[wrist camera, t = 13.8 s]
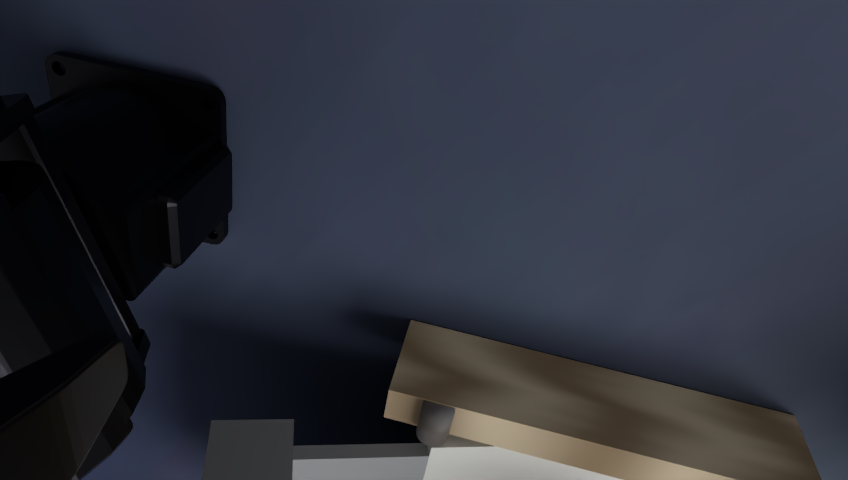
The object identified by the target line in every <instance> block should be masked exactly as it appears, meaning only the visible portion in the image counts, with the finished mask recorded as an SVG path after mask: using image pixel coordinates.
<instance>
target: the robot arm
mask: <svg viewBox="0 0 848 480" xmlns="http://www.w3.org/2000/svg"><path fill="white" fill-rule="evenodd" d="M59 62H60V63H61V64H62V65H63V66H64V68H65V71H64V70H63V69H62V68H61V67H60V64H59ZM45 66H46V72H47V77H48V83H49V88H50V93H51V99H52V100H50V101H48V102H46V103H44V104H42V105H40V106H38V107H36V108H34V106H33V104H32V102H31V100H30V98H29V96H28V94H27V93H22V94H13V95H5V96H1V95H0V480H81V479H82V478H84V477H85V476H86V475H87V474H88V473H90V472H91V471H92V470H93V469H94V468H96V467H97V466H98V465H99V464H101V463H102V462H103V461H104V460H105V459H107V458H108V457H109V456H110V455H111V454H112V453H113V452H114V451H115V450H116V449H117V448H118V446H119V445H120V444H121V443H122V442H123V441H124V440H125V439H126V437H127V436H128V435H129V433H130V432H131V430H132V428H133V423H132V421H131V420H130V417H131V415H132V414H133V412H134V410H135V408H136V406H137V404H138V402H139V400H140V398H141V396H142V393H143V391H144V389H145V376H146V367H145V365H144V362H145V359H146V356H147V353H148V350H149V347H150V341H149V339H148V337H147V335H146V333H145V331H144V330H143V329H140V328H139V326H138V324H137V322H136V320H135V318H134V316H133V314H132V312H131V310H130V308H129V306H128V304H127V302H126V300H128V301H133V300H135V299H136V298H137V297H138V296H139V295H140V294H141V293H142V292H143V291H144V289H145V288H146V287H147V286H148V285H149V284H150V283H151V282H152V281H153V280H154V279H155V278H156V277H157V276H158V275H159V273H160V272H161V271H162V270H163V269H164V268H165V267H170V268H174V269H175V268H177V267H178V266H180V265H182V264H183V263H184V262H185V261H186V260H187V258H188V257H189V256H190V255H191V254H192V253H193V252H194V251H195V250H196V248H197V247H198V246H199V245H200V244H201V243H202V242H206V243H210V244H219V243H221V242H222V241H223V240H224V239H225V237H226V236H227V235H228V213H229V212H230V211H231V210H232V153H231V151H230V150H229V148H228V147H227V136H226V100H225V96H224V95H223V93H222V91H220V90H219V89H218V88H217V87H215V86H212V85H208V84H204V83H199V82H195V81H191V80H186V79H182V78H178V77H173V76H169V75H165V74H160V73H156V72H152V71H147V70H143V69H138V68H134V67H130V66H125V65H121V64H117V63H112V62H108V61H104V60H99V59H95V58H90V57H86V56H82V55H77V54H73V53H69V52H64V51H58V52H56V53H54V54H51V55H49V56H47V58H46V60H45ZM206 96H208V97H210V98H211V99H212V100H213V102H214V106H212V105H210V104H208V102H207V101H206V98H205V97H206ZM213 230H215V231H216V232H217V234H216V233H213Z"/></svg>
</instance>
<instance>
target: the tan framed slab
mask: <svg viewBox="0 0 848 480" xmlns="http://www.w3.org/2000/svg"><path fill="white" fill-rule="evenodd" d="M384 417H385V418H389V419H393V420H396V421H400V422H404V423H408V424H412V425H416V426H417V429H416V435H417V437H418V439H419V440H420V441H421V442H422V443H423V444H425V445H427V446H430V447H439V446H441V445H443V444H444V443H445V442H446V441H447V439H448V436H449V434H450V435H454V436H458V437H462V438H465V439H469V440H473V441H477V442H481V443H485V444H488V445H492V446H496V447H500V448H504V449H508V450H511V451H515V452H519V453H523V454H527V455H531V456H534V457H538V458H542V459H546V460H550V461H554V462H557V463H561V464H565V465H569V466H573V467H577V468H580V469H584V470H588V471H592V472H596V473H600V474H603V475H607V476H611V477H615V478H619V479H623V480H821V478H820V475H819V473H818V470H817V468H816V466H815V463H814V461H813V458H812V456H811V454H810V451H809V449H808V446H807V444H806V441H805V439H804V437H803V434H802V432H801V429H800V427H799V424H798V422H797V420H796V417H795V415H791V414H787V413H783V412H779V411H775V410H771V409H767V408H763V407H759V406H755V405H751V404H747V403H743V402H739V401H735V400H730V399H726V398H722V397H718V396H714V395H710V394H706V393H702V392H698V391H694V390H690V389H686V388H682V387H678V386H674V385H670V384H666V383H662V382H658V381H654V380H650V379H646V378H642V377H638V376H634V375H630V374H626V373H622V372H618V371H614V370H610V369H606V368H602V367H598V366H594V365H590V364H586V363H582V362H578V361H574V360H570V359H566V358H562V357H558V356H554V355H550V354H546V353H542V352H538V351H534V350H530V349H526V348H522V347H518V346H514V345H510V344H506V343H502V342H498V341H494V340H490V339H486V338H482V337H478V336H474V335H470V334H466V333H462V332H458V331H454V330H450V329H446V328H442V327H438V326H434V325H430V324H426V323H422V322H418V321H414V320H411V321H410V324H409V327H408V330H407V334H406V337H405V340H404V343H403V346H402V349H401V353H400V356H399V359H398V362H397V365H396V368H395V372H394V375H393V378H392V381H391V384H390V388H389V391H388V397H387V402H386V407H385V413H384Z"/></svg>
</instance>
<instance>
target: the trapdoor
mask: <svg viewBox="0 0 848 480" xmlns="http://www.w3.org/2000/svg"><path fill="white" fill-rule="evenodd" d="M293 437H294V419H264V420H211V426H210V432H209V438H208V444H207V451H206V457H205V463H204V469H203V475H202V480H623V479H619V478H615V477H611V476H607V475H603V474H600V473H596V472H592V471H588V470H584V469H580V468H577V467H573V466H569V465H565V464H561V463H557V462H554V461H550V460H546V459H542V458H538V457H534V456H531V455H527V454H523V453H519V452H515V451H511V450H508V449H504V448H500V447H496V446H492V445H488V444H485V443H481V442H477V441H473V440H469V439H465V438H462V437H458V436H454V435H450V434H449V436H448V439H447V441H446V442H445V443H444V444H443V445H441V446H439V447H430V446H427V445H425V444H423V443H398V444H349V445H301V446H293Z"/></svg>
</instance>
